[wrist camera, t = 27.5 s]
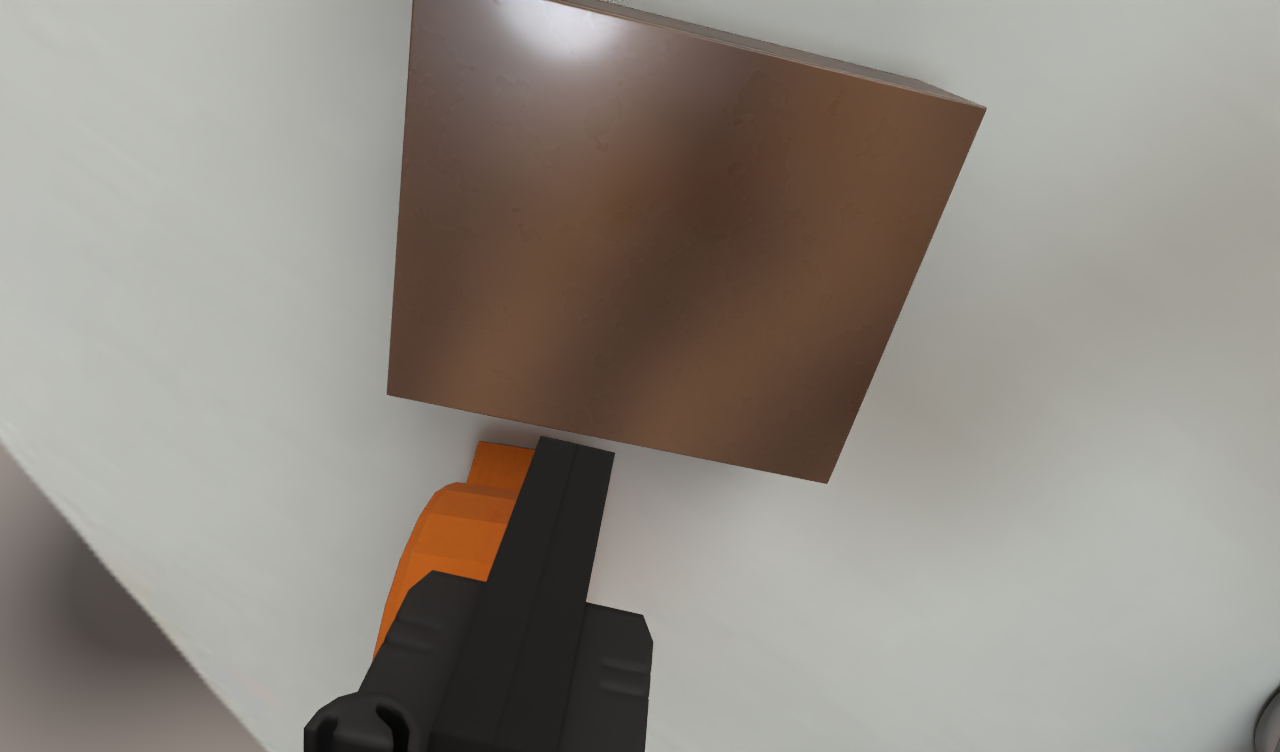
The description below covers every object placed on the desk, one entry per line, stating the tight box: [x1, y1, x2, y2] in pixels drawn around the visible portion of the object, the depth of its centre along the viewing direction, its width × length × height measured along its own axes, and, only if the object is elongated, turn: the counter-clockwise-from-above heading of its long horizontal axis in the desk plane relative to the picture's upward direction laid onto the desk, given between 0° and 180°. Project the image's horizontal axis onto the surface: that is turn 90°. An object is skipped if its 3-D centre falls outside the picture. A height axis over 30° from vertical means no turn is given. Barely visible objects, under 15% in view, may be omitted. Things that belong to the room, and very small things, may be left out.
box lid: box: [387, 0, 986, 484], centre depth 25 cm, size 17×14×1 cm
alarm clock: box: [373, 441, 535, 660], centre depth 32 cm, size 13×6×20 cm, turn 173°
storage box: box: [561, 0, 974, 103], centre depth 29 cm, size 16×14×7 cm
